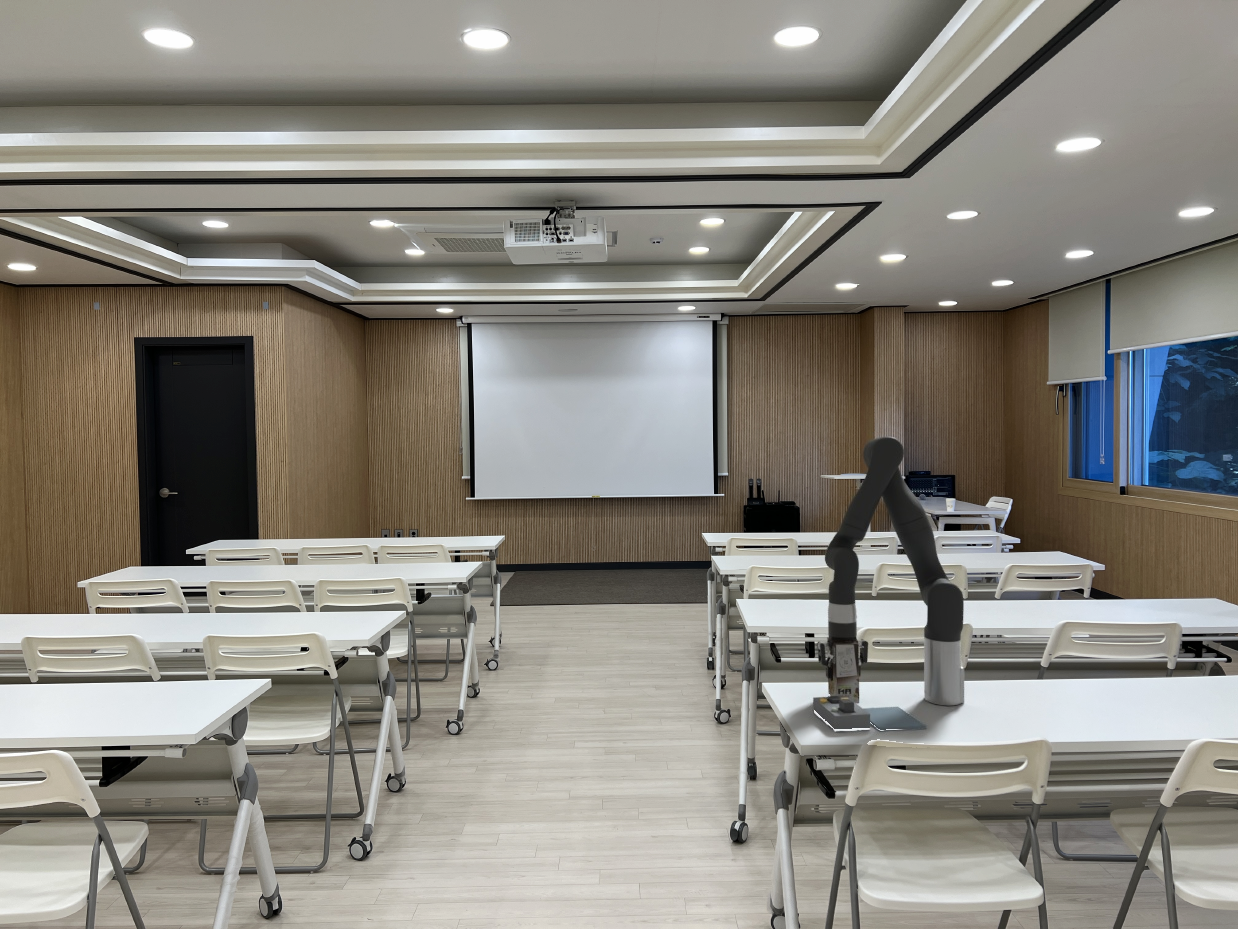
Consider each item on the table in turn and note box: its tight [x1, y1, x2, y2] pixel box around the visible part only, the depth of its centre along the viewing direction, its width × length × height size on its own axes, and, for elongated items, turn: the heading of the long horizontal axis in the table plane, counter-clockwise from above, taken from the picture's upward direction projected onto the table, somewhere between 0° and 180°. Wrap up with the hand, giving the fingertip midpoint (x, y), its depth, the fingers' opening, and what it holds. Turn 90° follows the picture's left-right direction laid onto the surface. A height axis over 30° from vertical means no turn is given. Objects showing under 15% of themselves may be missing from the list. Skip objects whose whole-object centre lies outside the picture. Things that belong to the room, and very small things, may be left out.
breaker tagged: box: [827, 695, 841, 704], centre depth 192 cm, size 3×3×3 cm
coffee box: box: [826, 636, 860, 704], centre depth 205 cm, size 9×6×16 cm
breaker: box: [839, 698, 854, 713], centre depth 186 cm, size 3×3×3 cm
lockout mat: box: [862, 706, 927, 730], centre depth 190 cm, size 12×14×1 cm
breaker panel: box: [812, 696, 871, 729], centre depth 189 cm, size 14×9×5 cm, turn 7°
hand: (843, 679), depth 205 cm, fingers closed on coffee box, 7 cm apart
